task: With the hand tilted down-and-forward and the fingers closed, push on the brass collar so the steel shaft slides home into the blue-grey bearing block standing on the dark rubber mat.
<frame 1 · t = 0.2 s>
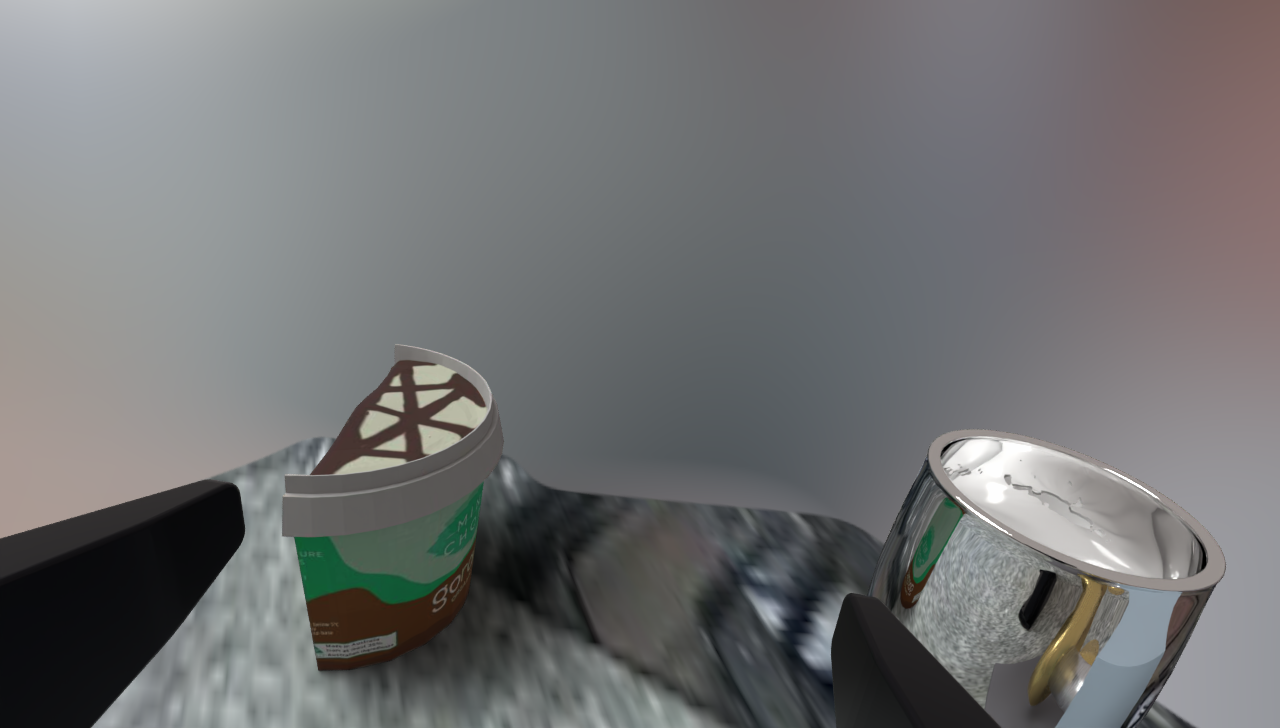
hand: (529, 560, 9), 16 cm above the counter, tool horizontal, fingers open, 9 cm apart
food container: (427, 593, 30), on the counter
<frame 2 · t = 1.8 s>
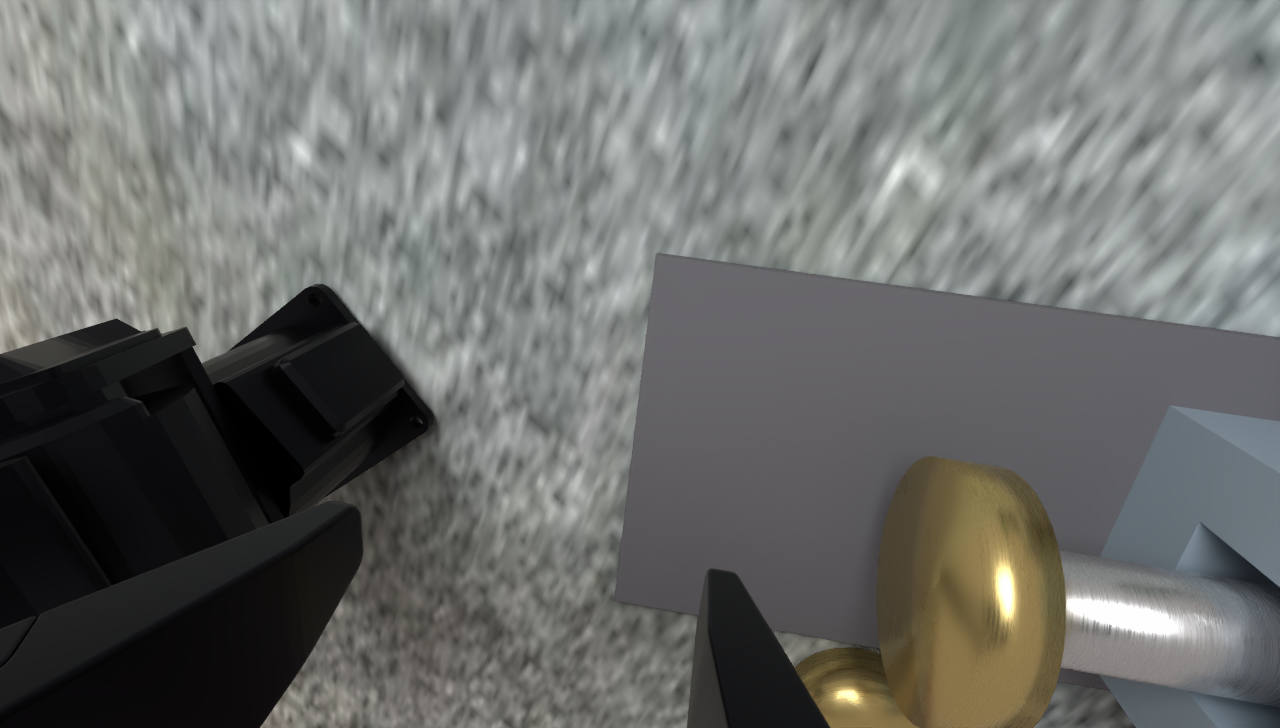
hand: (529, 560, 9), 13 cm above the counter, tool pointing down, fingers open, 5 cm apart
bearing block: (1223, 542, 21), resting on mat
mat: (971, 496, 22), on the counter
shaft: (1206, 633, 16), point 5 cm above the counter, slide at 0.0 cm
gold domed disc: (846, 692, 26), on the counter
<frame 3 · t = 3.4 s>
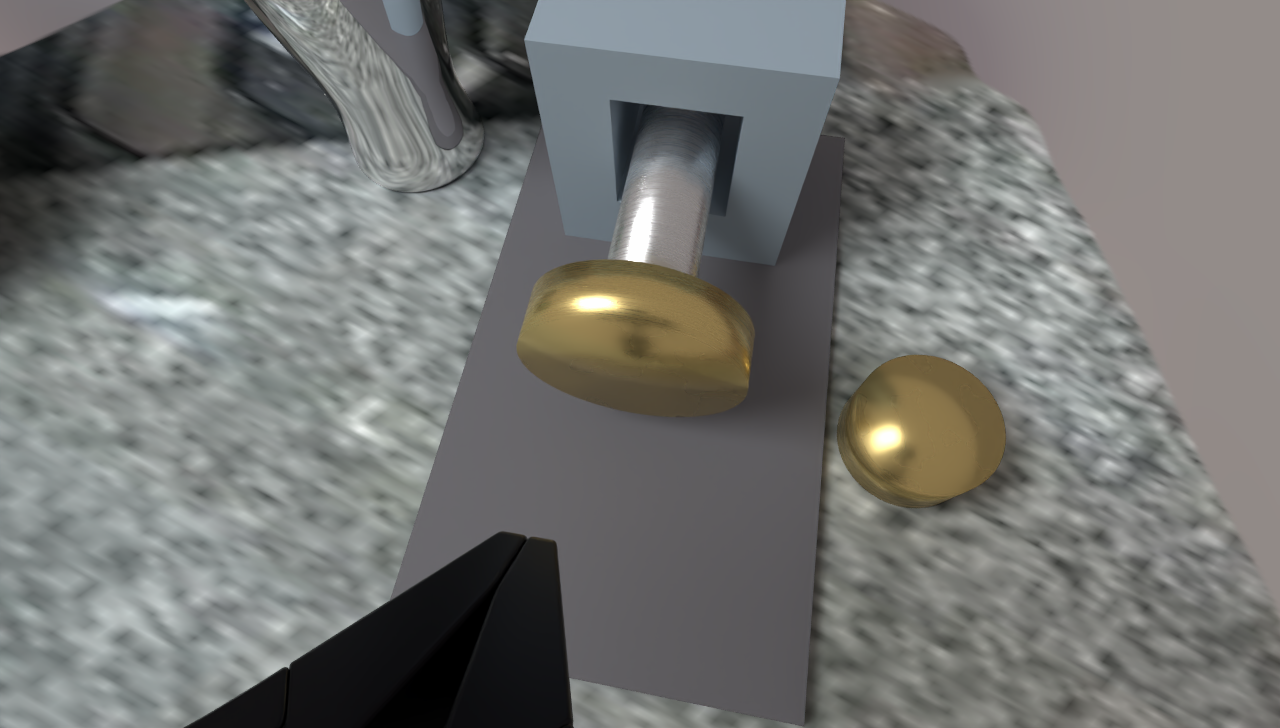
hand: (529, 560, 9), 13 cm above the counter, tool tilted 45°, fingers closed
bearing block: (681, 184, 28), resting on mat
beer glass: (422, 144, 30), on the counter
mat: (649, 350, 25), on the counter
shaft: (670, 180, 22), point 5 cm above the counter, slide at 0.0 cm
gold domed disc: (902, 442, 24), on the counter
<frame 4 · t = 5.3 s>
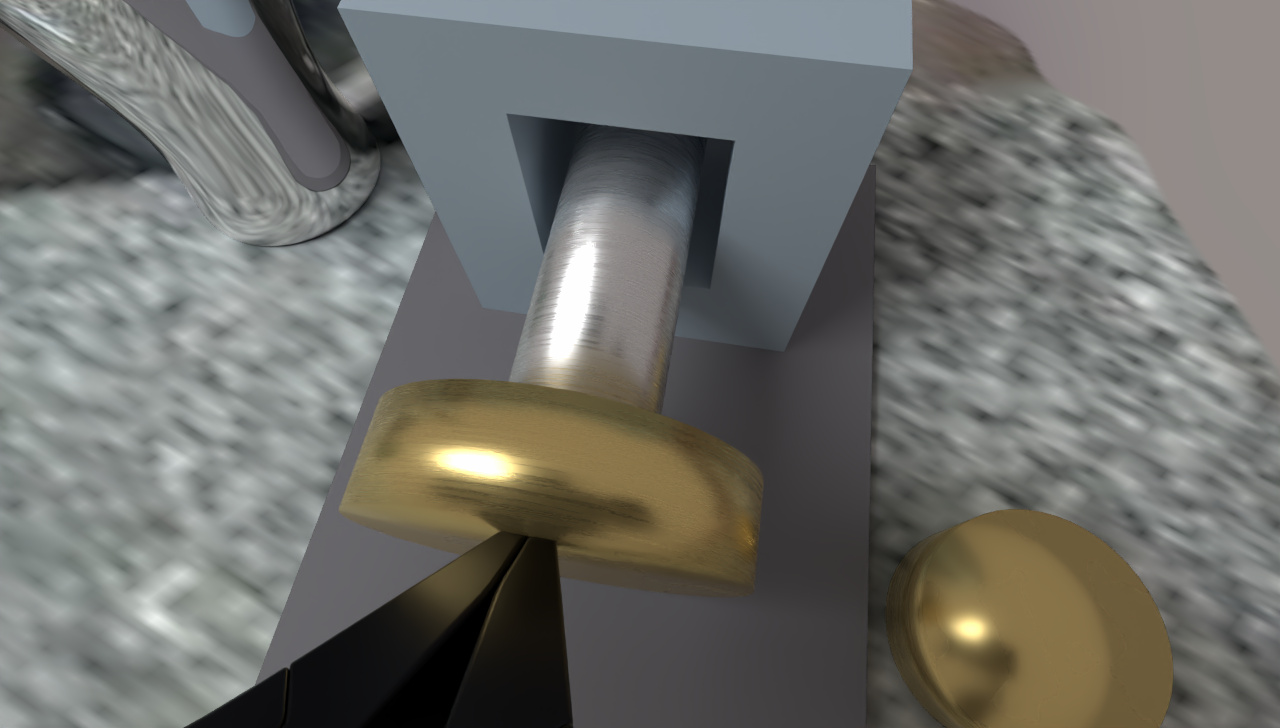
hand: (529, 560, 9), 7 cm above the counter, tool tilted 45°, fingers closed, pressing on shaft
bearing block: (649, 233, 20), resting on mat
beer glass: (296, 179, 22), on the counter
mat: (601, 484, 17), on the counter
shaft: (626, 215, 14), point 5 cm above the counter, slide at 0.7 cm, touching gripper
gold domed disc: (986, 632, 15), on the counter
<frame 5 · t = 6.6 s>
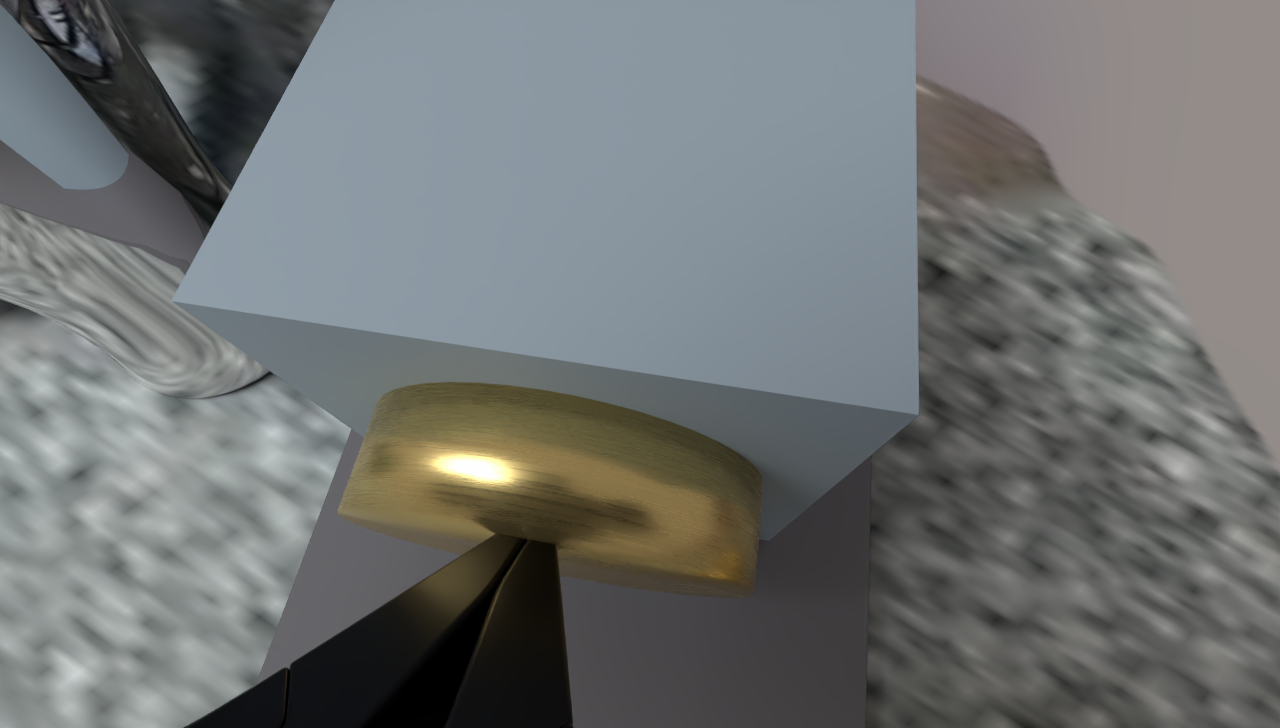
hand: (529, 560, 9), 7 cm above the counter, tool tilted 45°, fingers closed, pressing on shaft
bearing block: (618, 386, 17), resting on mat
beer glass: (226, 310, 19), on the counter
mat: (556, 708, 15), on the counter
shaft: (626, 213, 14), point 5 cm above the counter, slide at 6.1 cm, touching bearing block, gripper
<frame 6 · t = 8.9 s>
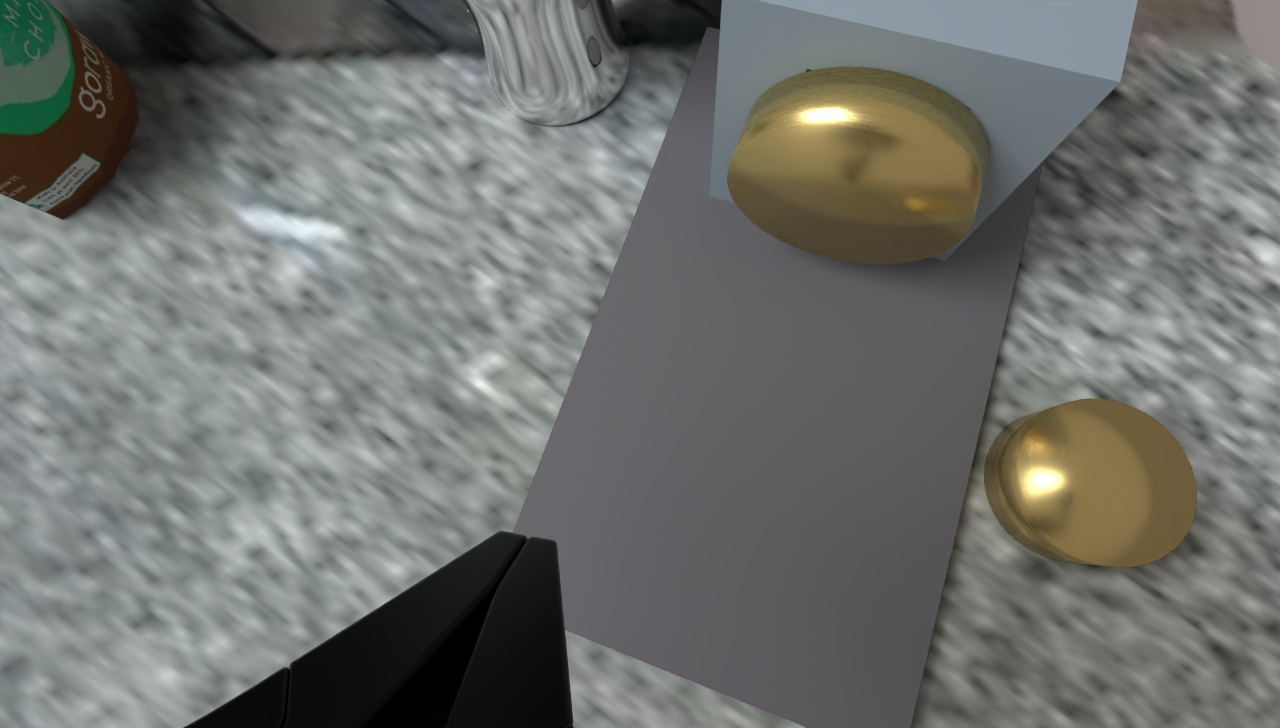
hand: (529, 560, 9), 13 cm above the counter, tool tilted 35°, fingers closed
bearing block: (848, 148, 24), resting on mat
food container: (99, 109, 28), on the counter
beer glass: (560, 68, 27), on the counter
mat: (787, 341, 23), on the counter
shaft: (904, 2, 20), point 5 cm above the counter, slide at 6.0 cm
gold domed disc: (1059, 485, 21), on the counter
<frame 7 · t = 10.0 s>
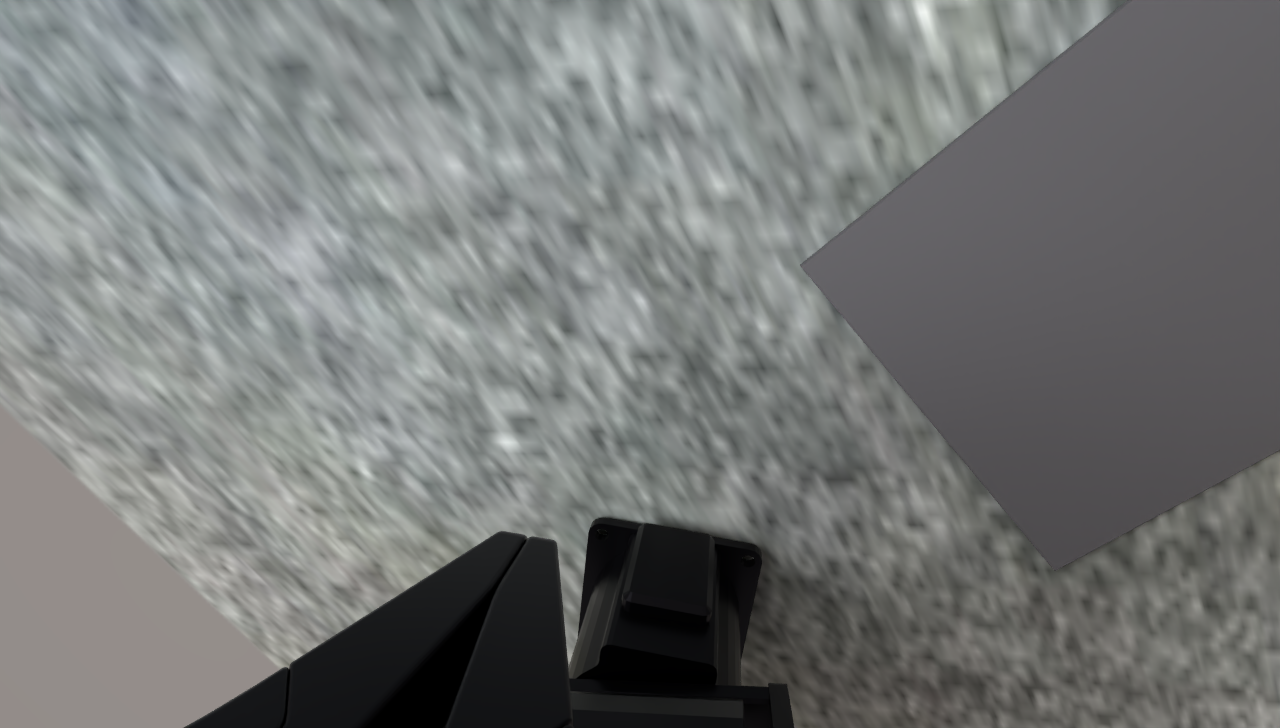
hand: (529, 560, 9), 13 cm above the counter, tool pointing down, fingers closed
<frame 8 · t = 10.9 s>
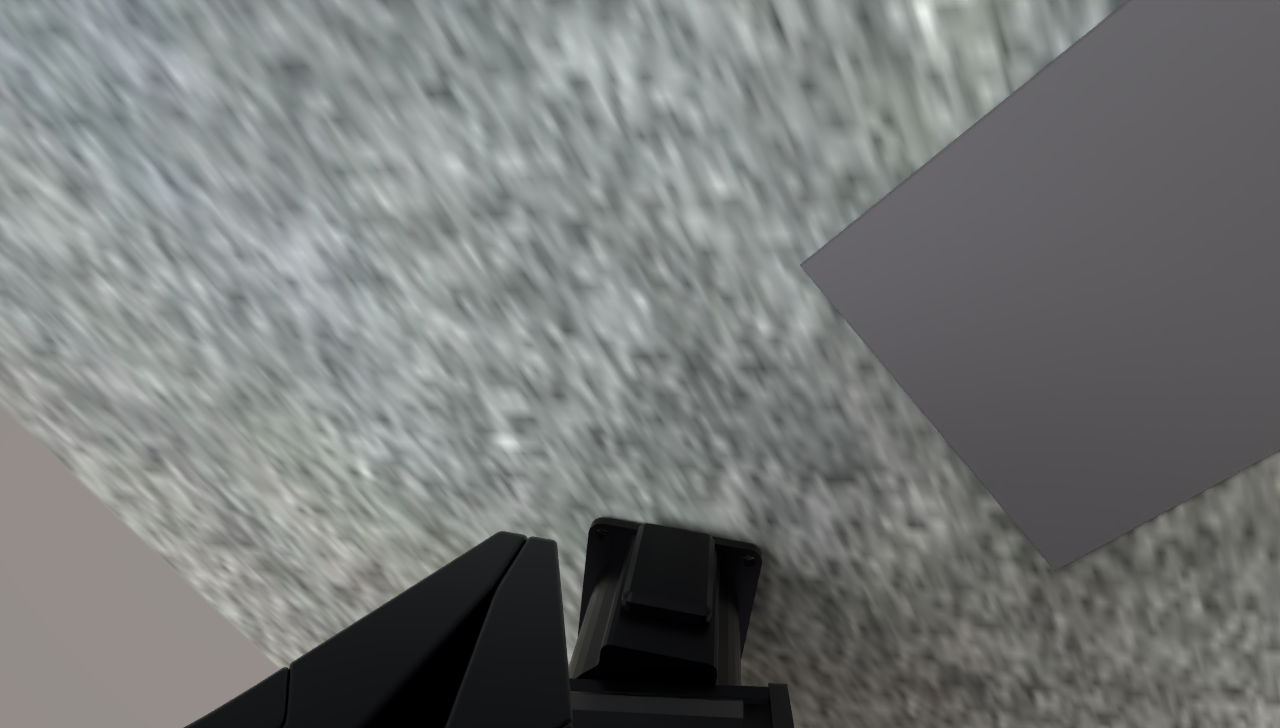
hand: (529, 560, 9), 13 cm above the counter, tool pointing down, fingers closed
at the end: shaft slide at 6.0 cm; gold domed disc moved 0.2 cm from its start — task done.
